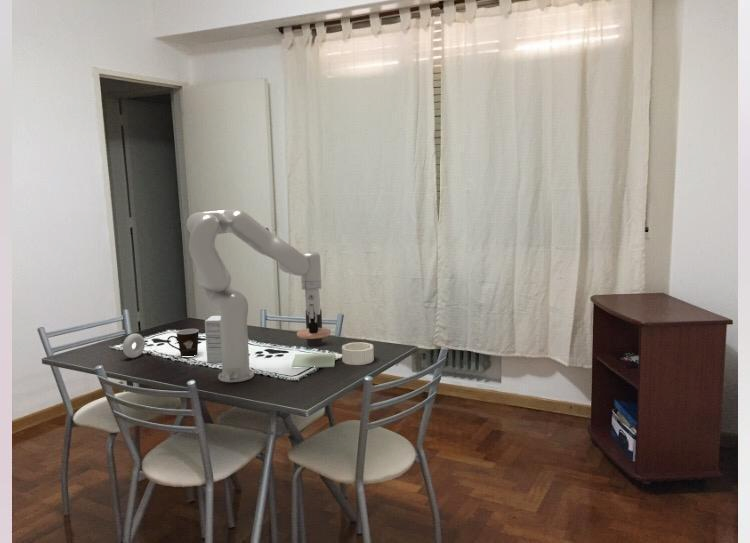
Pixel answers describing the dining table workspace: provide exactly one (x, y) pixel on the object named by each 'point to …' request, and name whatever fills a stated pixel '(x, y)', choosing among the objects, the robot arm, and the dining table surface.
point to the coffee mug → (187, 342)
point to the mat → (314, 360)
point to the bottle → (319, 317)
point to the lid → (320, 334)
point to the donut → (138, 349)
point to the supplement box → (213, 339)
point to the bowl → (357, 353)
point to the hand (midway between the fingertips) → (313, 331)
